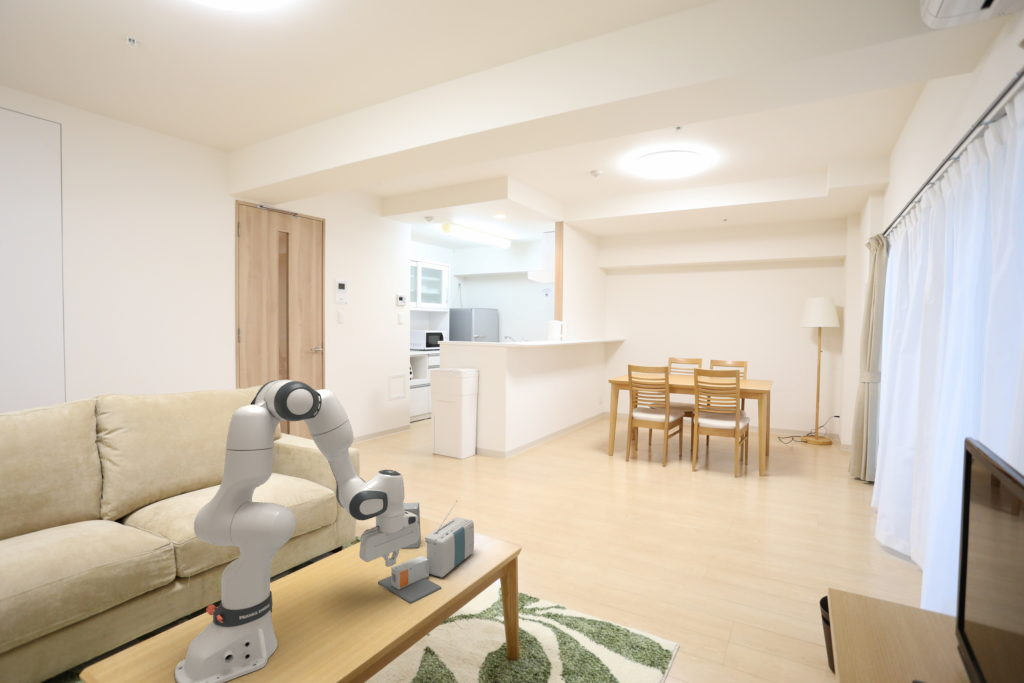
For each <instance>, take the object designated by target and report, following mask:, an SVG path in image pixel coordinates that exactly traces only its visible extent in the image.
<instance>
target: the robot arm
mask: <svg viewBox="0 0 1024 683" xmlns="http://www.w3.org/2000/svg"><path fill="white" fill-rule="evenodd" d="M282 421H284V422H285V421H286V422H287V421H288V422H299V421H303V422H304V423H305V425H306V426H307V428H308V431H309V433H310V436H311V438H312V440H313V443H315V445H316V447H317V448H318V451H320V453H321V454H322V455H323V456H324V457H325V458H326V460H327V461H328V464H329V467H330V469H331V472H332V474H333V476H334V479H335V481H336V482H335V483H336V492H335V493H336V494H335V496H336V501H337V503H338V505H339V506H340V507H342V508H343V509H344V510H345V511H346V512H347V513H348V514H349V515H350V516H351V517H352V518H353V519H355V520H358V521H368V520H370V519H373V518H375V526H373V527H371V528H369V529H368V528H367V529H365V530H364V532H363V533H362V534H361V535H360V544H359V545H360V546H359V558H360V559H361V560H362V561H363V562H365V563H369V562H371V561H374V560H376V559H379V558H383V560H384V563H385V564H384V565H385V567H387V568H389V567H391V566H392V567H393V566H395V565H396V564H397V559H398V556H399V554H400V550H401V549H405V548H404V547H406V546H409V545H411V544H414V543H416V542H418V540H419V538H420V532H421V529H420V530H419V524H418V523H417V521H418V516H417V515H415V514H413V513H411V512H408V511H405V509H404V506H403V503H405V502H404V501H405V496H406V495H405V483H404V478H403V474H401V473H400V472H399V471H396V470H392V469H381V470H379V471H378V472H377V473H376V474H375V475H374V476H373V477H372V478H371V479H370V480H369V479H368V481H365V480H364V479H363V478H362V477H360V476H359V475H358V474H357V472H356V470H355V467H354V464H353V462H352V459H351V456H350V453H349V449H350V448H351V446H352V444H353V442H354V440H355V438H354V437H355V436H354V432H353V428H352V423H351V421H350V419H349V417H348V415H347V412H346V410H345V409H344V406H343V405H342V403H341V402H340V400H339V398H338V397H337V395H336V394H335V393H334V392H333V391H332V390H330V389H328V388H326V389H324V388H323V389H316V390H315V389H314V388H312V386H310V385H308V384H307V383H305V382H303V381H299V380H298V381H297V380H292V379H275V380H271V381H268V382H266V383H264V384H263V385H262V386H261V387H260V388H259V389H258V391H257V393H256V394H255V396H254V397H253V399H252V400H251V402H250V404H248V405H247V404H246V405H243V406H241V407H239V408H237V409H236V410H235V411H234V412H233V413H232V416H231V420H230V423H229V426H228V431H227V436H226V442H225V455H224V456H225V458H224V468H223V475H222V479H221V483H220V485H219V487H218V488H219V489H218V490H217V492H216V493H215V495H214V496H213V498H212V499H210V501H209V502H207V503H206V504H205V505H203V506H202V507H201V508H200V509H199V511H198V513H197V514H196V515H195V518H194V521H193V522H194V523H193V530H194V531H193V532H194V534H195V537H196V538H197V539H198V540H200V541H202V542H205V543H208V544H211V545H215V546H226V547H227V546H228V547H236V548H237V547H238V549H239V556H238V558H236V559H235V560H233V561H231V562H230V563H229V564H228V565H227V566H226V567H225V568H224V570H223V572H222V575H221V577H220V578H221V579H220V580H221V587H220V588H221V601H220V602H219V604H218V606H216V605H215V604H214V603H211V604H209V605H207V607H206V609H205V611H206V613H207V614H208V615H210V616H212V620H211V621H210V623H208V624H207V625H206V627H204V629H202V630H201V631H200V632H199V633H198V634H197V635H196V636H195V637H194V638H193V639H192V640H191V642H190V643H189V645H188V647H187V652H186V656H185V658H184V659H182V660H180V661H179V662H178V663H177V665H176V667H175V670H174V678H175V681H176V683H225V682H228V681H231V680H234V679H236V678H238V677H241V676H242V677H243V676H244V675H247V674H250V673H252V672H255V671H258V670H261V669H263V668H265V666H266V664H267V663H268V660H269V658H270V657H271V656H272V655H273V654H274V653H275V651H276V649H277V648H278V644H279V643H278V639H277V636H276V633H275V629H274V626H273V624H274V623H273V618H272V612H273V606H274V605H273V603H274V602H273V594H272V590H271V570H272V563H273V559H274V557H275V555H276V553H277V551H278V550H279V549H280V548H282V547H283V546H284V545H285V544H287V542H289V540H290V539H291V538H292V536H293V534H294V532H295V530H296V516H295V513H294V510H292V509H291V508H290V507H288V506H284V505H282V504H278V503H274V502H258V501H253V495H254V492H255V490H256V489H257V488H258V487H260V486H262V485H264V484H265V483H266V482H268V481H269V480H270V478H271V476H272V475H273V474H272V473H273V465H274V464H273V463H274V449H275V448H274V446H275V441H274V440H275V437H274V436H275V433H276V429H277V427H278V425H279V424H280V423H281V422H282ZM391 553H392V555H391V557H390V554H391Z"/></svg>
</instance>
